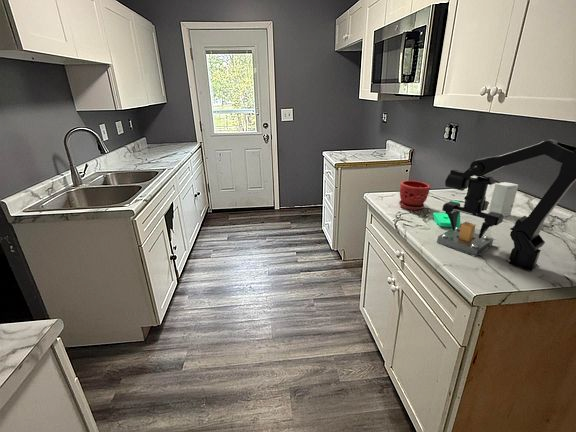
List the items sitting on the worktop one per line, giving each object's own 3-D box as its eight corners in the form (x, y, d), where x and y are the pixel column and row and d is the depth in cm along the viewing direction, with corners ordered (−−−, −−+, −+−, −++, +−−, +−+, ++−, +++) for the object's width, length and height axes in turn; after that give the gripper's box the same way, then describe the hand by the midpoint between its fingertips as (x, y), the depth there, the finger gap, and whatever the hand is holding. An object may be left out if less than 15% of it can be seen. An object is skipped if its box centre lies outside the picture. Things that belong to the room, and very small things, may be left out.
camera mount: (431, 217, 142) (435, 196, 138) (449, 218, 141) (454, 197, 137) (439, 228, 131) (444, 205, 127) (459, 229, 130) (464, 206, 126)
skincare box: (499, 218, 141) (508, 186, 135) (486, 214, 146) (494, 183, 140) (510, 215, 144) (519, 184, 139) (497, 211, 149) (505, 180, 144)
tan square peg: (470, 244, 117) (475, 224, 114) (466, 246, 115) (471, 227, 112) (461, 240, 120) (465, 221, 117) (457, 243, 118) (461, 224, 115)
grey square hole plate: (491, 244, 117) (494, 237, 116) (476, 256, 109) (478, 248, 107) (453, 232, 127) (455, 225, 126) (436, 242, 119) (438, 234, 117)
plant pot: (417, 213, 146) (421, 189, 141) (392, 206, 155) (395, 183, 151) (431, 207, 154) (435, 184, 149) (407, 200, 163) (410, 178, 158)
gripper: (514, 195, 108) (502, 236, 114) (459, 184, 122) (451, 221, 128) (502, 202, 102) (490, 245, 108) (445, 189, 115) (437, 228, 121)
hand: (466, 234), depth 116 cm, fingers open, 9 cm apart
